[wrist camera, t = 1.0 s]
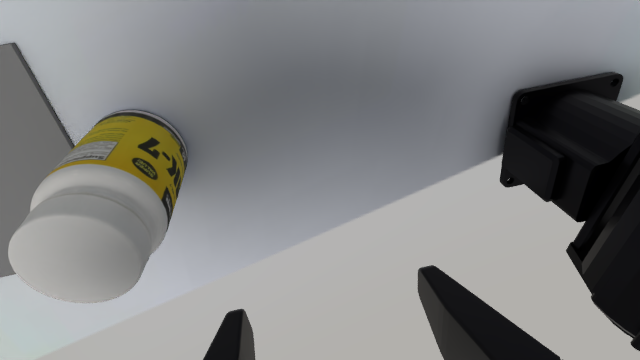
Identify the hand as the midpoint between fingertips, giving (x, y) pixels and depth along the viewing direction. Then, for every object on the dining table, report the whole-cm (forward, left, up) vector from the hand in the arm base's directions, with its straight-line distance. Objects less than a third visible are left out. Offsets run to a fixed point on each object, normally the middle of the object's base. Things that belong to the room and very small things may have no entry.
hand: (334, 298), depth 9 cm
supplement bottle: (+8, 0, -12) cm, 15 cm away
